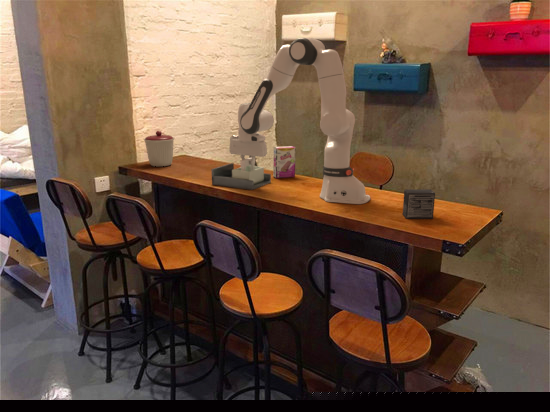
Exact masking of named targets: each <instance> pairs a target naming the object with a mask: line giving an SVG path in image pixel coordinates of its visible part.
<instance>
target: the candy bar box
mask: <svg viewBox="0 0 550 412" xmlns="http://www.w3.org/2000/svg"><path fill="white" fill-rule="evenodd" d="M296 151H297V150H296V146H292V145H288V146H273V163H272V164H273V171H272V172H273V174H272V175H273V178H274V179H283V178H295V176H296Z"/></svg>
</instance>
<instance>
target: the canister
mask: <svg viewBox="0 0 550 412" xmlns="http://www.w3.org/2000/svg"><path fill="white" fill-rule="evenodd" d="M174 140H175V137H173V136H172V135H169V134H163V132H162V131H161V130H157V131H156V132H155V135H148V136H146V137H145V138H143V141H144V143H145V147H146V153H147V158H148V162H149V164H150V165H151V166H152V167H155V166H156V168H159V167H161V168H162V167H163V166H164V167H168V166H169V167H170V166H171V165H172V164H173V158H174Z"/></svg>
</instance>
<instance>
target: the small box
mask: <svg viewBox="0 0 550 412" xmlns="http://www.w3.org/2000/svg"><path fill="white" fill-rule="evenodd" d="M435 198H436V192H435V191H434V190H432V189H426V188H425V189H424V188H423V189H406V188H405V189H404V191H403V201H402V202H403V204H402V205H403V206H402V216H403V217H404V219H407V220H433V219H434V210H435Z"/></svg>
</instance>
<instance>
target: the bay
mask: <svg viewBox="0 0 550 412" xmlns="http://www.w3.org/2000/svg"><path fill="white" fill-rule="evenodd" d="M234 167H235V166H234V162H231V163H228V164H224V165H221V166H217V167H215V168H211V185H212V186H221V187H227V188H234V189H243V190H248V191H254V190H256V189H259V188H260V187H263V186H265V185H268V184H270V183H271V181H272V178H271V173H265V172H264V181H261V182H259V183H256V184H254V181H253V180H245V179H237V178H232V170H234V169H235V168H234Z"/></svg>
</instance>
